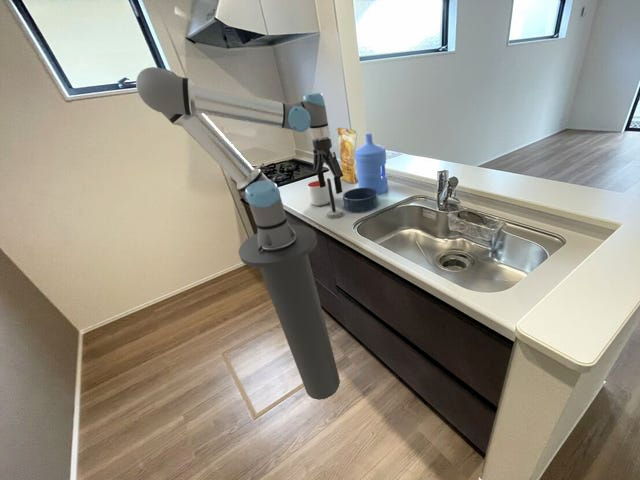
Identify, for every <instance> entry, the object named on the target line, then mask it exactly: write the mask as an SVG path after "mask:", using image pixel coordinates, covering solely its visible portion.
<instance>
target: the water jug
mask: <svg viewBox="0 0 640 480" xmlns="http://www.w3.org/2000/svg"><path fill="white" fill-rule="evenodd" d="M386 164H387V152H386V148H385V147H384V146H382V145H379V144H377V143H374V142H373V134H372V133H366V134H365V143H364V145H362V146H360V147H359V148H356V149H355V166H356V176H357V183H358V188H373V189H375V190H377V194H378V196H379V195H382V194H384V193H386V192H387V191H388V190H389V184H388V176H387V175H388V174H386Z"/></svg>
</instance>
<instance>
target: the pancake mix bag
mask: <svg viewBox="0 0 640 480" xmlns="http://www.w3.org/2000/svg"><path fill="white" fill-rule="evenodd" d="M336 131H337V139H338V148H339V157H340V158H339V159H340V168H341V171H342V173H343V177H341V179H342V180H343V181H346V182H348V183H349V184H356V183H358V180H357V177H356V176H357V175H356V167H355V166H356V159H355V151H356V147H357V138H358V137H357V136H358V135H357V131H356V130H354V129H349V128H345V127H337V128H336Z"/></svg>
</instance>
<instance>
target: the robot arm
mask: <svg viewBox="0 0 640 480" xmlns="http://www.w3.org/2000/svg"><path fill="white" fill-rule="evenodd" d="M135 86H136V91H137V93H138V95H139V97H140V99H141V100H142V102H144V104H145V105H146V106H148V107H149V108H151V109H152V110H154V111H155V112H157V113H161V114H162V115H163V116H164V117H165V118H166V119H167V120H168V121H169V122H170V123H171V125H174V126H179V127H181V128H183V130H184V131H185V132H186V133H187V134H188V135H189V136H190V137H192V139H193V140H194V141H195V142H196V143H197V144H198V145H199V147H201V148H202V149H203V150H204V151H205V152H206V153H207V154H208V155H209V157H211V158H212V159H213V160H214V161H215V162H216V163H217V164H218V166H220V167H221V168H222V169H223V170H224V171H225V173H227V175H228V176H229V177H231V178H232V180H234V182H236V189H237V190H238V192H240V193H241V194H242V195H243V196H244V197H245V198H246V201H247V203H248V205H249V208H250V211H251V214H252V217H253V219H254V222H255V225H256V228H257V233H258V245H259V249H258V251H259V252H260V251H261V250H263V251H267V252H274V251H280V250H283V249H286V248H288V247H290V246H292V245H293V244H294V243H295V242H296V240H297V237H296V234H295V231H294V229H292V227H291V226H290V225H291V224H290V222H289V221H288V219H287V215H286V210H285V207H284V205H283V201H282V200H283V199H282V196H281V191H280V189H279V187H278V185H277V183H275V182H274V181H272V180H271V179H270V178H268V177H267V176H266V175H265V174H264V172H263V171H262V170H261V169H260V168H257V167H256V168H255V167H253V166H252V165H251V164H250V162H248V161H247V159H246V158H245V157H244V156H243V155H242V154H241V152H239V150H238V149H237V148H236V147H235V146H234V145H233V144H232V143H231V142H230V140H229V139H227V137H226V136H225V135H224V134H223V133H222V132H221V131H220V129H219V128H218V127H217V126H216V125H215V124H214V123H213V122H212V120H210V118H209V117H208V116H213V117H216V118H217V117H218V118H223V119H229V120H235V121H240V122H246V123H253V124H258V125H264V126H269V127H277V128H279V129H286V130H292V131H294V132H298V133H303V132H305V131H307V130H308V129H309V132H310V138H311V142H312V147H313V150H312V153H313V161H312V162H313V164H312V167H313V168H312V171H315V173H316V175H317V179H318V180H317V181H319V185H320V188H322V187H325V186H326V184H325V181H326V179H325V174H324V170H323V167H324V164H325V165H326V166H328V168H329V170H330V172H331V173H332V176H333V182H334V188H335V194H336V195H339V194H341V193H343V187H342V186H343V185H342V180H341V179H342V177H343V173H342V170H341V165H340V163H339V161H338V159H337V154H336V152H335V151H333V152H331V149H332V148H333V144H332V143H333V142H332V139H331V132H330V127H329V121H328V115H327V109H326V107H327V106H326V103H325V98H324V95H323V94H322V93H321V92H312V93H307V94H304V95H303V96H302V98H303V100H302V101H299V102H292V103H285V102H281V101H276V100H272V99H267V98H262V97H257V96H252V95H248V94H243V93H239V92H236V91H235V92H234V91H229V90H225V89H220V88H215V87H211V86H206V85H202V84H197V83H195V82H193V81H192V80H191V79H190V78H188V77H183V76H179V75H177V74H176V73H175V72H173V71H172V70H169V69H166V68H164V67H163V68H162V67H155V66H151V67H146V68H144V69H142V70H141V71H140V72H139V73H138V74H137V76H136V81H135Z"/></svg>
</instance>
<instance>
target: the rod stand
mask: <svg viewBox="0 0 640 480" xmlns="http://www.w3.org/2000/svg"><path fill="white" fill-rule="evenodd" d="M326 182H327V184H328V190H329V195H330V205H331V209H330V210H328V211H327V217H328V218H329V219H337V218H339V217H341V216H342V214H343V213H342V210H341V209H339V208H336V204H335V203H336V202H335V199H334V198H335V197H334V192H333V187H332V180H331V178H329V177H327V178H326Z"/></svg>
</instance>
